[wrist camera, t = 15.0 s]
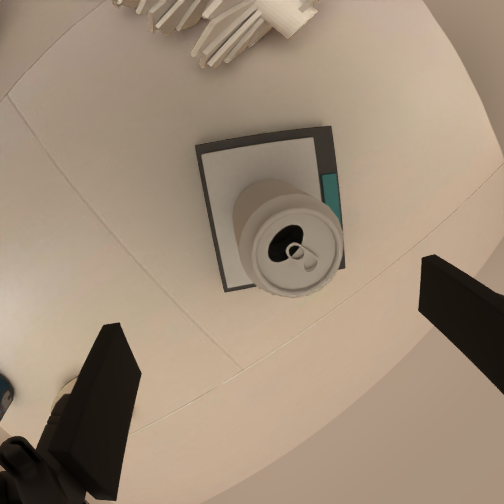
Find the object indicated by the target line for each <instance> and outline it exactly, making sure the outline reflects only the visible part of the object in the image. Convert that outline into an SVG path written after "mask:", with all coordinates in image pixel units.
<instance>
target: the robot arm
mask: <svg viewBox="0 0 504 504" xmlns="http://www.w3.org/2000/svg"><path fill="white" fill-rule="evenodd" d="M418 311H419V312H420V313H421V314H422V315H424V316H425V317H426V318H427V319H428V320H429V321H430V322H431V323H432V324H433V325H434V326H435V327H436V328H437V329H439V330H440V331H441V332H442V333H443V334H444V335H445V336H446V337H447V338H448V339H449V340H450V341H451V342H452V343H453V344H454V345H455V346H456V347H457V348H458V349H459V350H460V351H461V352H462V353H463V354H464V355H465V356H466V357H468V359H469V360H470V361H472V362H473V363H474V365H475V366H477V367H478V369H480V371H481V372H482V373H484V375H485V376H486V377H487V378H488V379H489V380H490V381H491V382H492V383H493V384H494V385H495V386H496V387H497V388H498V389H499V390H500V391H501V392H502V393H503V394H504V296H503V295H501V294H498V293H495V292H494V291H492V290H491V289H489V288H488V287H486V286H485V285H483V284H482V283H480V282H479V281H477V280H476V279H474V278H472V277H471V276H469V275H468V274H466V273H465V272H463V271H461V270H460V269H458V268H457V267H455V266H453V265H452V264H450V263H448V262H447V261H445V260H443V259H442V258H440V257H438V256H437V255H435V254H434V255H430V256H426V257H423V258H422V264H421V283H420V297H419V308H418ZM141 374H142V373H141V371H140V369H139V367H138V365H137V362H136V360H135V358H134V356H133V354H132V351H131V349H130V347H129V344H128V342H127V340H126V337H125V335H124V333H123V330H122V328H121V325H120V323H113V324H106V325H103V327H102V329H101V330H100V332H99V334H98V336H97V338H96V340H95V342H94V344H93V346H92V348H91V351H90V353H89V355H88V357H87V359H86V361H85V363H84V365H83V367H82V369H81V371H80V374H79V376H78V378H77V380H76V382H75V385H74V387H73V389H72V391H71V393H70V394H64V395H63V396H62V397H61V398H60V399H59V400H58V401H57V402H56V404H55V406H54V408H53V410H52V412H51V416H50V417H49V419H48V421H47V424H46V426H45V428H44V431H43V433H42V435H41V438H40V440H39V443H38V445H37V448H36V450H35V449H34V448H33V447H32V445H31V444H30V443H29V442H28V441H27V439H25V438H23V437H21V436H14V437H11V438H9V439H7V440H6V441H4V442H3V443H2V444H1V446H0V465H1V466H2V467H3V468H4V469H5V470H6V471H1V472H0V504H89V503H88V502H87V501H86V500H85V495H86V491H87V492H88V493H89V494H91V495H92V496H93V497H94V498H95V499H98V500H109V501H116V499H117V493H118V487H119V481H120V475H121V469H122V463H123V458H124V453H125V447H126V442H127V437H128V432H129V427H130V422H131V418H132V413H133V409H134V404H135V400H136V395H137V391H138V387H139V382H140V378H141Z"/></svg>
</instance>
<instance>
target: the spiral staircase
mask: <svg viewBox="0 0 504 504" xmlns="http://www.w3.org/2000/svg"><path fill="white" fill-rule="evenodd" d="M317 1H319V0H111V2H112V3H113V4H114V6H115V7H117V8H119V7H120V6H121V5H124V6H128V7H133V8H136V7H137V6H138V8H137V10H136V13H137V14H139V15H141V14H143V13H145V12H147V11H148V20H149V31H150V32H151V33H154V32H155V31H156V30H157V29H159V30H160V31H161V32H163V33H164V34H165V35H166V36H169V35H170V34H171V32H172V31H173V30H174V29H176V30H177V31H181V30H183V29H186V28H188V27H191V26H193V25H196V24H197V23H198V21H199V20H200V19H201V17H202V18H203V19H205V18H206V19H211V21H210V22H209V24H208V25H207V27H206V28H205V30H204V32H203V33H202V35H201V36H200V38H199V40H198V41H197V43H196V44H195V46H194V48H193V49H192V51H191V53H190V55H192V56H193V57H196V56H197V55H198V54H199V53H201V52H202V54H201V58H200V63H199V66H200V67H201V68H204V67H205V66H206V65H207V64H208V65H209V66H210V67H213V68H217V67H218V66H219V65H220V63H221V62H222V61H223V60H224V62H225V63H226V64H227V63H229V62H230V61H231V60H233V59H234V58H235V57H236V56H238V55H239V54H240V53H242V51H243V50H244V49H245V48H246V47H247V46H248V47H249V48H251V47H252V46H253V45H254V44H255V43H256V42H257V41H258V40H259V39H261V38H262V37H263V36H264V35H265V34H266V33H267V32H268V31H269V30H271V28H272V27H273V28H274V29H276V30H277V31H278V32H279V33H281V34H282V35H283V36H284V37H286V38H287V39H289V38H290V37H291V36H293V35H294V34H295V33H296V32H297V31H298V30H299V29H300V28H301V27H302V26H303V25H304V24H305V23H306V22H307V21H309V20H310V19H311V18H312V17H313V16H314V15H315V14H316V13H317V12H318V11H317V10H316V9H315V8H314V7H313V5H314V4H315V3H316V2H317Z"/></svg>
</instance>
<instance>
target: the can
mask: <svg viewBox="0 0 504 504" xmlns="http://www.w3.org/2000/svg"><path fill="white" fill-rule="evenodd" d="M232 219H233V227H234V232H235V237H236V242H237V247H238V252H239V257H240V261H241V264H242V266H243V268H244V270H245V272H246V274H247V276H248V278H249V279H250V280H251V281H252V282H253V283H254V284H255V285H256V286H258V287H259V288H260V289H262V290H264V291H266V292H269V293H271V294H273V295H279V296H284V297H291V298H295V297H302V296H308V295H310V294H312V293H314V292H316V291H318V290H320V289H321V288H323V287H324V286H325V285H326V284H327V283H328V282H330V281H331V279H332V278H333V276H334V275H335V273H336V272H337V270H338V269H339V266H340V262H341V259H342V256H343V231H342V228H341V225H340V222H339V219H338V218H337V216H336V215H335V214H334V213H333V211H332V210H331V209H330V207H329V206H328V205H326V204H324V203H323V202H321V201H320V200H318V199H316V198H315V197H313V196H311V195H309V194H308V193H306V192H304V191H302V190H300V189H298V188H297V187H295V186H293V185H291V184H289V183H287V182H285V181H280V180H276V179H270V180H261V181H259V182H257V183H255V184H252V185H250V186H249V187H248V188H247V189H246V190H245V191H243V192H242V193H241V195H240V196H239V198H238V200H237V201H236V203H235V206H234V210H233V215H232Z"/></svg>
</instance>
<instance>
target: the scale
mask: <svg viewBox="0 0 504 504" xmlns="http://www.w3.org/2000/svg"><path fill="white" fill-rule="evenodd" d="M195 148H196V154H197V159H198V165H199V170H200V175H201V181H202V186H203V191H204V196H205V201H206V206H207V212H208V217H209V222H210V227H211V231H212V236H213V241H214V246H215V251H216V256H217V260H218V265H219V270H220V274H221V279H222V284H223V288H224V292H230V291H235V290H241V289H246V288H251V287H256V285H255V284H254V283H253V282H252V281H251V280H250V279H249V278H248V276H247V274H246V272H245V270H244V268H243V266H242V264H241V261H240V257H239V252H238V247H237V242H236V237H235V232H234V227H233V219H232V215H233V210H234V206H235V203H236V201H237V200H238V198H239V196H240V195H241V193H242V192H243V191H245V190H246V189H247V188H248V187H249V186H250V185H252V184H255V183H257V182H259V181H261V180H270V179H276V180H280V181H285V182H287V183H289V184H291V185H293V186H295V187H297V188H298V189H300V190H302V191H304V192H306V193H308V194H309V195H311V196H313V197H315V198H316V199H318V200H320V201H321V202H323V203H324V204H326V205H328V206H329V207H330V209H331V210H332V211H333V213H334V214H335V215H336V216H337V218H338V219H339V222H340V225H341V228H342V231H343V226H342V214H341V203H340V193H339V183H338V174H337V166H336V158H335V150H334V142H333V135H332V128H331V126H324V127H314V128H304V129H295V130H287V131H279V132H272V133H265V134H258V135H251V136H245V137H239V138H233V139H227V140H221V141H216V142H211V143H205V144H200V145H196V146H195ZM344 268H345V255H344V240H343V256H342V259H341V262H340V266H339V269H338V270H340V269H344Z"/></svg>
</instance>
